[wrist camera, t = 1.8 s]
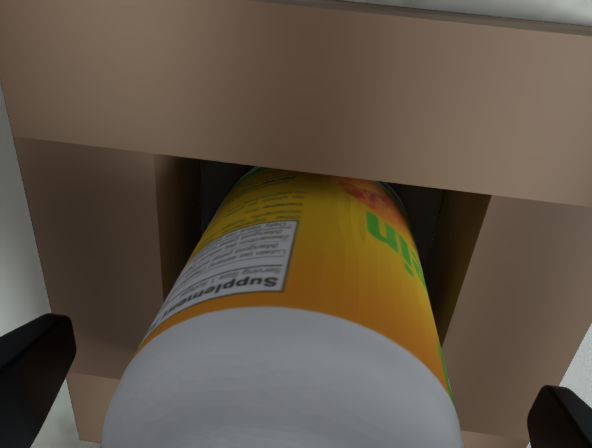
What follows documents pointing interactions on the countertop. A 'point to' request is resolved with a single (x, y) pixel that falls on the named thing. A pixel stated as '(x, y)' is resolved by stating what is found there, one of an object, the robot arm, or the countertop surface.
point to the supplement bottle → (293, 329)
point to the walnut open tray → (310, 165)
